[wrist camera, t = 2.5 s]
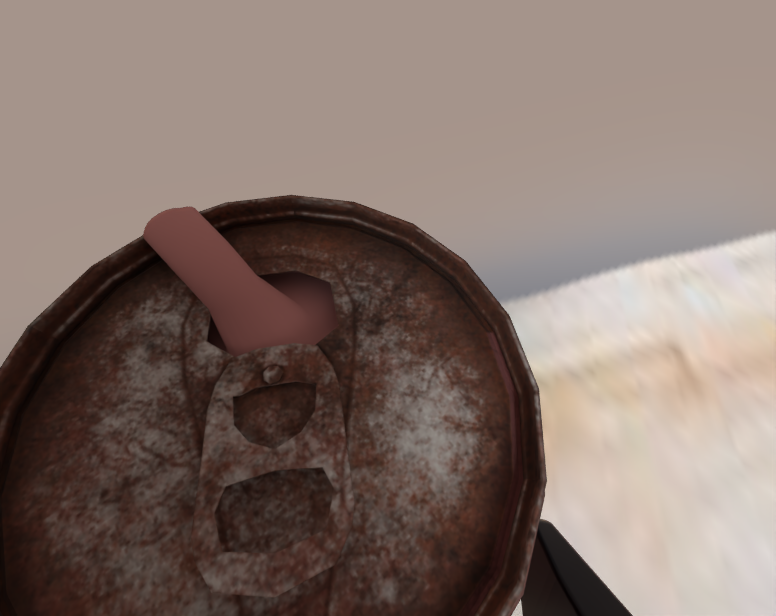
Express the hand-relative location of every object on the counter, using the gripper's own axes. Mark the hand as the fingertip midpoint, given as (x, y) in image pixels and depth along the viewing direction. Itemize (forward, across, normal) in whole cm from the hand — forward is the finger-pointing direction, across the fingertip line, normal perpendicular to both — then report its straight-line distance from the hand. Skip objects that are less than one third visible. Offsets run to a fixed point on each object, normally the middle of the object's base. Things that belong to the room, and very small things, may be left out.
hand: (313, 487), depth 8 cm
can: (+7, 0, +6) cm, 9 cm away
